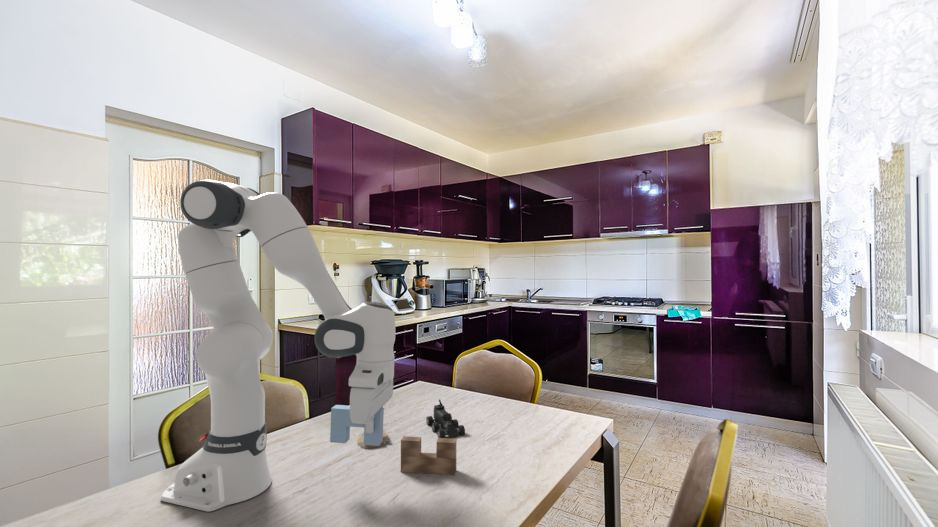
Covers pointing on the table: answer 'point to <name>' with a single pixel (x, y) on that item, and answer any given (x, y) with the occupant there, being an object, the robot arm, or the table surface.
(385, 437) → the stone
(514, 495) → the table surface
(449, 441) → the wooden u-shaped block
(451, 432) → the toy vehicle
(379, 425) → the blue arch block
